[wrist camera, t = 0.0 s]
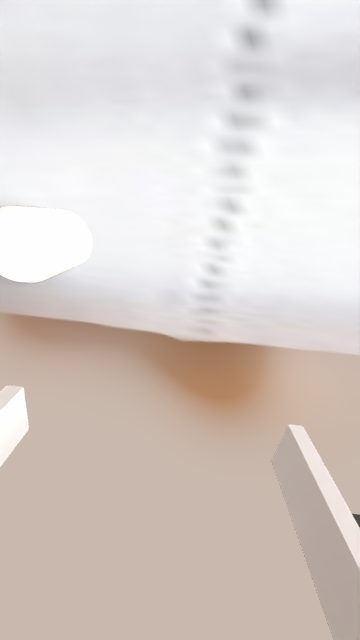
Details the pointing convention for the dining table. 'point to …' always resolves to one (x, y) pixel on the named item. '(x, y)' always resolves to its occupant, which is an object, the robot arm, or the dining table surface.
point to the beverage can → (41, 242)
